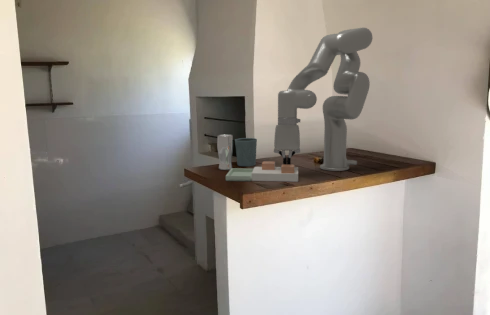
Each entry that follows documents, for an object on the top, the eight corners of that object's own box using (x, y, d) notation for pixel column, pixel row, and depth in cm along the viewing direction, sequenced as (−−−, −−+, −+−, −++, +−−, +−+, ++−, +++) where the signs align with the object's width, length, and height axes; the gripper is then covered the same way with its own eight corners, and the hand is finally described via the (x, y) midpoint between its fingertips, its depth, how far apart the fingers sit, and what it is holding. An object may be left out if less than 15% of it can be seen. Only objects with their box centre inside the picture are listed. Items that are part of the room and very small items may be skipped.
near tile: (294, 170, 167) (294, 164, 166) (294, 173, 162) (294, 167, 162) (281, 170, 167) (281, 164, 167) (281, 173, 163) (281, 166, 162)
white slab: (298, 174, 174) (298, 167, 173) (298, 181, 161) (298, 174, 161) (254, 173, 176) (254, 166, 176) (251, 180, 163) (251, 173, 163)
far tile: (274, 167, 174) (274, 161, 173) (274, 169, 169) (274, 163, 168) (262, 167, 174) (262, 161, 174) (261, 169, 169) (261, 163, 169)
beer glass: (221, 170, 183) (221, 136, 180) (215, 168, 189) (214, 134, 186) (236, 169, 186) (235, 135, 183) (229, 166, 192) (228, 133, 189)
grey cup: (259, 166, 192) (259, 140, 190) (237, 167, 190) (237, 141, 188) (254, 162, 202) (253, 137, 200) (233, 163, 200) (233, 138, 198)
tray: (254, 173, 177) (254, 168, 177) (250, 181, 163) (250, 176, 162) (231, 172, 178) (231, 168, 178) (225, 180, 164) (225, 175, 163)
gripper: (306, 121, 170) (305, 165, 173) (269, 121, 172) (268, 165, 175) (306, 122, 163) (305, 169, 166) (267, 122, 164) (267, 168, 168)
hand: (286, 167), depth 170 cm, fingers closed
